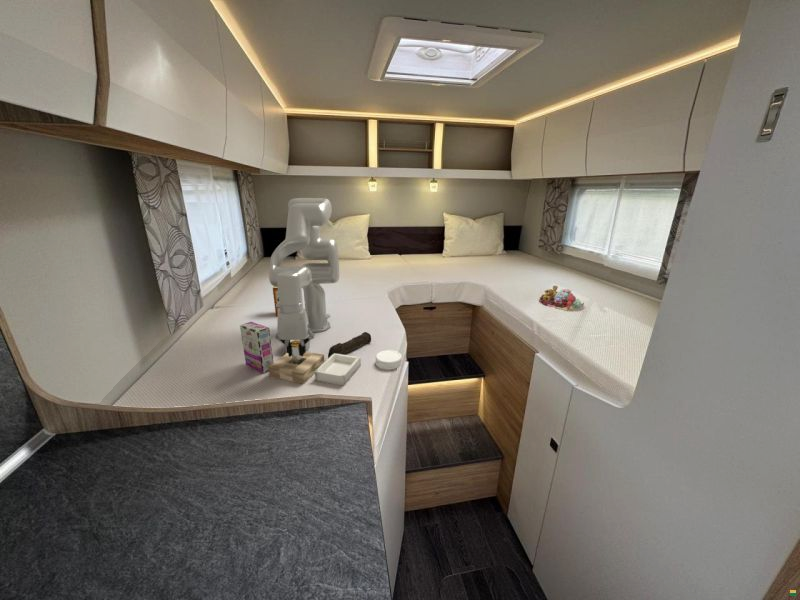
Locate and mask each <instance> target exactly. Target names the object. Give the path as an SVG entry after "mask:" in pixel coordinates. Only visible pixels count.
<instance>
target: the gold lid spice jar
mask: <svg viewBox="0 0 800 600" xmlns="http://www.w3.org/2000/svg"><path fill="white" fill-rule="evenodd" d="M290 346H291V354H292V363H293V364H297V365H300V364H301V363H302V362H303V359H302V356H301V354H300V346H301V343H300V341H299V340H295V341H292V342H290Z"/></svg>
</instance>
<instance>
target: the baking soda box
mask: <svg viewBox="0 0 800 600" xmlns="http://www.w3.org/2000/svg"><path fill="white" fill-rule="evenodd" d="M272 295H273V302H274V311H275V317H276V318H278V312H279V311H280V309H279V308H276V304H279V295H278V287H275V286H273V287H272Z"/></svg>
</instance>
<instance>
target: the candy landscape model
mask: <svg viewBox="0 0 800 600" xmlns="http://www.w3.org/2000/svg"><path fill="white" fill-rule="evenodd" d="M558 288H559V286H558V285H552V289H551V288H550V289H546V290H544V293H543V294H542V295H541V296H540V297H539V299H538V301H539V303H542V305H545V306H548V307H550V308H555V309H557V310H559V311H560V310H561V311H564V312H577V311H582V310H584V309H585V302H581V301H580V299H579V298H577V299H576V296H575V295H574V294H573V293H572V290H571V289H569V288H565V289H563V288H562V289H560V290H559V291H557V290H558Z"/></svg>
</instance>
